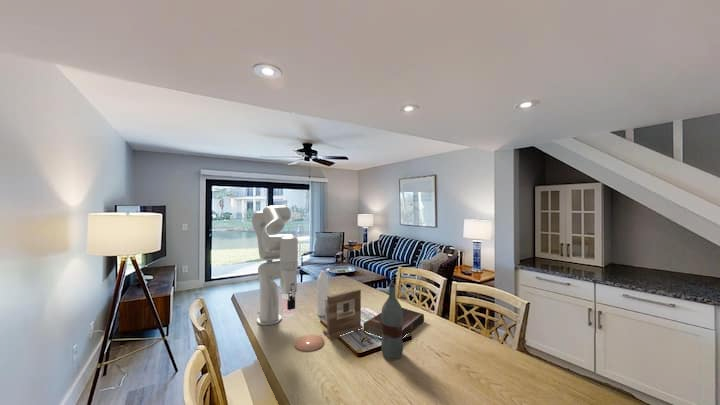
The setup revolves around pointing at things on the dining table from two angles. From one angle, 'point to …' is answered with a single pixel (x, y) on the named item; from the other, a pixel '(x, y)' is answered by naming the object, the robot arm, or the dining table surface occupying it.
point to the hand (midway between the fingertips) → (289, 305)
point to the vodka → (392, 327)
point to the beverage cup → (285, 311)
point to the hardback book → (409, 323)
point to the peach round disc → (309, 343)
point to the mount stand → (342, 313)
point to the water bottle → (322, 292)
